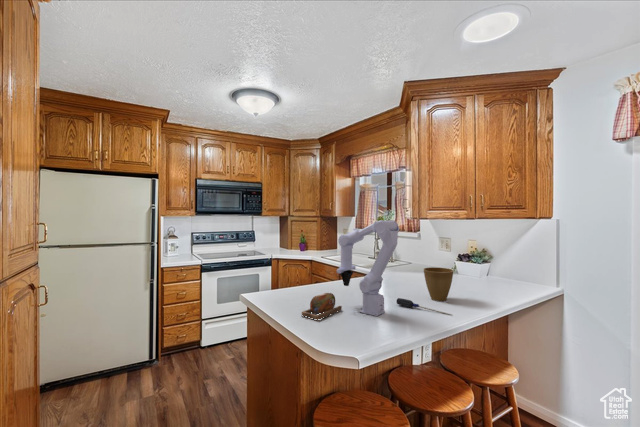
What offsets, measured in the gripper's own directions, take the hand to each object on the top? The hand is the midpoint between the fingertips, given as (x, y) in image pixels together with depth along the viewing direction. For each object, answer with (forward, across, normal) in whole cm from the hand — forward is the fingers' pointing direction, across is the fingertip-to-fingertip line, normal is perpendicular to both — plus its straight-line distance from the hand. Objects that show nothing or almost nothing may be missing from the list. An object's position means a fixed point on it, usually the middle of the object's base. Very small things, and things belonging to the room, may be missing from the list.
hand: (346, 285), depth 150 cm
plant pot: (+10, -38, +34) cm, 52 cm away
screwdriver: (+10, -16, +33) cm, 38 cm away
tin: (+10, +17, -2) cm, 20 cm away
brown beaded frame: (+9, +18, -1) cm, 20 cm away
